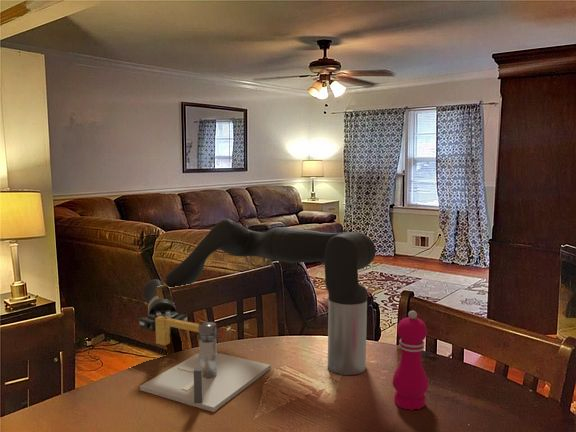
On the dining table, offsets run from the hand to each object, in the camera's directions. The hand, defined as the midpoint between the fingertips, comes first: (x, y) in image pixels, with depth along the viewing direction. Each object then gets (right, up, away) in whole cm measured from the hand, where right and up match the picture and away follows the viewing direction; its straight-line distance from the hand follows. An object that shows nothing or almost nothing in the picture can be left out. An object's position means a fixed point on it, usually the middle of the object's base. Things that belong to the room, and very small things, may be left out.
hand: (165, 331), depth 123 cm
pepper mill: (+56, -11, -19) cm, 60 cm away
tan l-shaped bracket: (+6, -3, -6) cm, 9 cm away
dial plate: (+12, -9, -8) cm, 17 cm away
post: (+12, -9, -8) cm, 17 cm away
